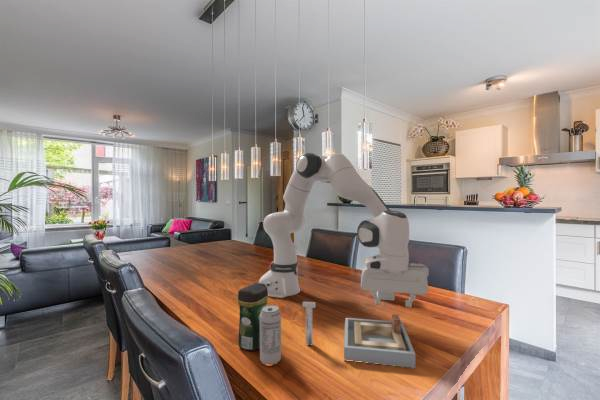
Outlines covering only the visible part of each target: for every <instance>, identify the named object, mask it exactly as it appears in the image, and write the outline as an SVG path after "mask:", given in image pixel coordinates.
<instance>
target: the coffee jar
mask: <svg viewBox="0 0 600 400" xmlns="http://www.w3.org/2000/svg"><path fill="white" fill-rule="evenodd" d="M268 297H269V296H268V291H267V287H266V285H265V284H262V283H259V282H257V281H256V282H254V283H252V284H249V285H247V286H245V287H243V288H241V289H239V290H238V291H237V303H238V306H239V320H238V321H239V322H238V323H239V324H238V343H237V344H238V346H239V347H240V348H241V349H242V348H243V349H242V350H244V351H257V350H258V349H260V313H261V311H262V308H263V307H264V306H267V305H268V299H269V298H268ZM256 349H257V350H256Z"/></svg>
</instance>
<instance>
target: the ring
mask: <svg viewBox="0 0 600 400" xmlns="http://www.w3.org/2000/svg"><path fill="white" fill-rule="evenodd" d="M391 321H392V324H379V323H366V322H354V338H355V346H357V347H367V348H378V349H389V350H399V351H406V347H405V344H404V341H403V339H402V336H401V333H400V324H401V322H402V321H401V318H400V316H399V314H395V313H393V314H391ZM361 334H369V335H381V336H392V338H393V341H394V343H385V342H373V341H362V337H361Z"/></svg>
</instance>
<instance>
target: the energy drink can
mask: <svg viewBox="0 0 600 400" xmlns="http://www.w3.org/2000/svg"><path fill="white" fill-rule="evenodd" d="M281 359H282V313H281V311H280V309H279V306H278V305H275V304H269V305H268V304H267V306H264V307H263V308H262V311H261V313H260V348H259V361H260V362H261V364H262V363H264V364H275V363H277V362H280V361H281Z"/></svg>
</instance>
